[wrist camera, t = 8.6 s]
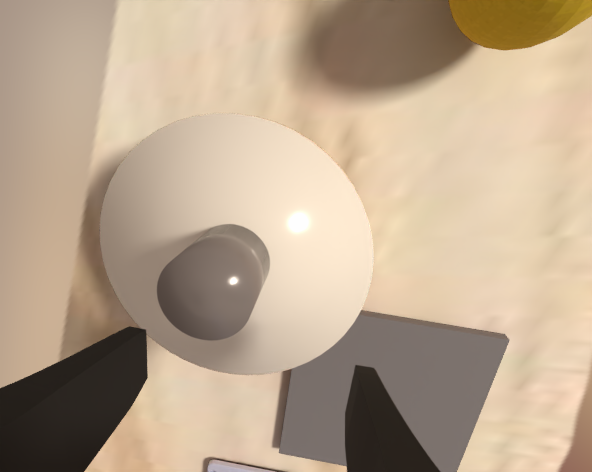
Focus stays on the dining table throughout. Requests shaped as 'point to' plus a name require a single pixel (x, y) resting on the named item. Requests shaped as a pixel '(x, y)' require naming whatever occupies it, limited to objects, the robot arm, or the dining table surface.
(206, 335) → the lid
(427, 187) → the dining table surface
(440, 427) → the mat
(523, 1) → the lemon
